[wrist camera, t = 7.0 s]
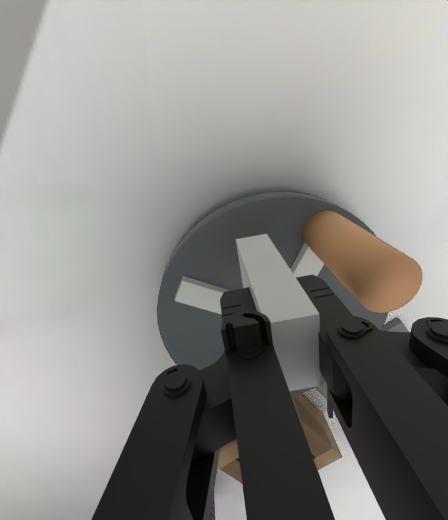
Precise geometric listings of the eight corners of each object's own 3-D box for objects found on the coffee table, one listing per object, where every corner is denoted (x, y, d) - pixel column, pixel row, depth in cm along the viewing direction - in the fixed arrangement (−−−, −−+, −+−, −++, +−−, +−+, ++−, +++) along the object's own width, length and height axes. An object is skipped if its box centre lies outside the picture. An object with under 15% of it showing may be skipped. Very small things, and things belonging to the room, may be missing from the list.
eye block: (257, 452, 29) (265, 498, 26) (205, 414, 26) (206, 460, 23) (323, 413, 28) (342, 456, 24) (275, 368, 25) (289, 409, 21)
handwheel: (134, 356, 21) (101, 473, 14) (207, 150, 16) (215, 169, 8) (312, 398, 24) (359, 509, 17) (422, 240, 19) (557, 308, 12)
